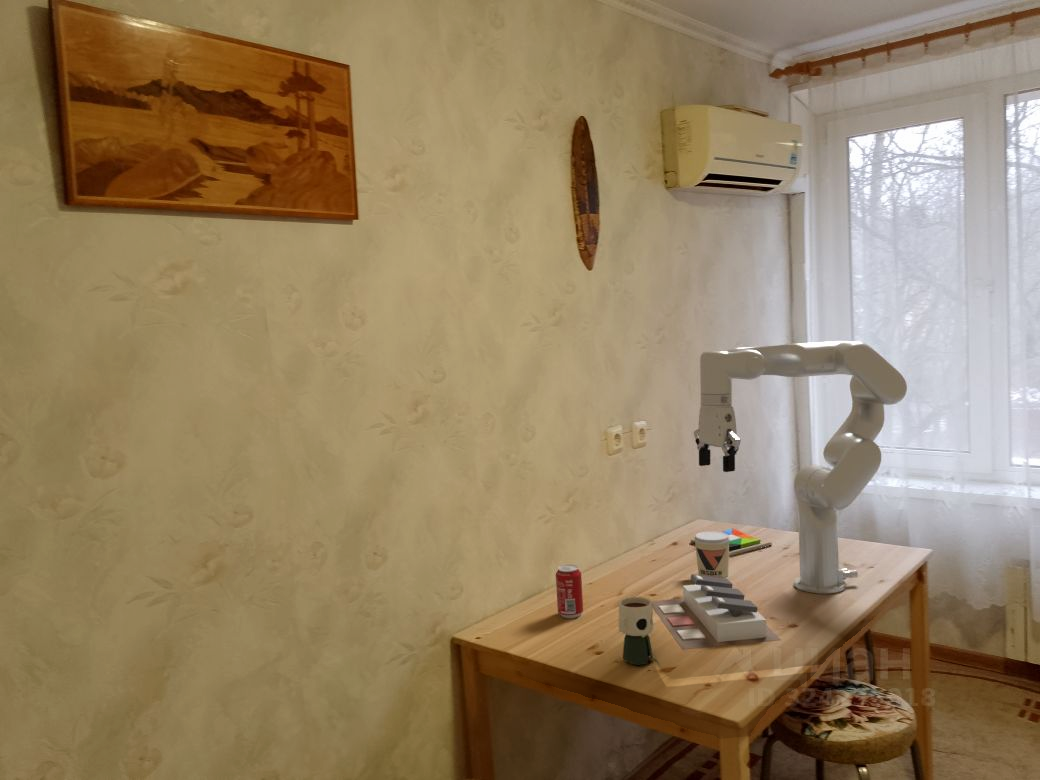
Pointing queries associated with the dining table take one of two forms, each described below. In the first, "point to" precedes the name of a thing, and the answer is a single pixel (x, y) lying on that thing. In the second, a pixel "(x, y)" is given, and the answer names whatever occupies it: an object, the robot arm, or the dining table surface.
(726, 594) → the rocker middle
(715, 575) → the coffee cup
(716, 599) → the rocker near
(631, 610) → the character mug
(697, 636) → the chart board
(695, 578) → the block
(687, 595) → the switch housing
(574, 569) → the beverage can
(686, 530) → the dining table surface
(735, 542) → the wooden puzzle
